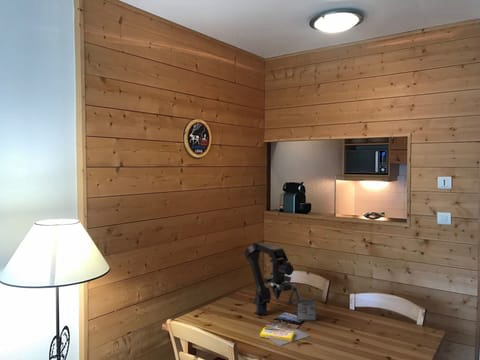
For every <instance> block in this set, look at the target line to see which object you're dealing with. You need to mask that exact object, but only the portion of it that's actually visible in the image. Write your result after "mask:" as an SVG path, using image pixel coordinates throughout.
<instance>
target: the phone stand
mask: <svg viewBox="0 0 480 360" xmlns="http://www.w3.org/2000/svg"><path fill="white" fill-rule="evenodd" d="M299 288H300V287H299V284H298V283H294V284H293V285H292V290H291V293H290V296H289V299H288V301H287V305H289V306H290V305H291V306H292V305H293V306H297V299H303V297H302V294H301V292H300V289H299ZM294 295H295V296H296V301H295V300H293V299H294Z"/></svg>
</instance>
